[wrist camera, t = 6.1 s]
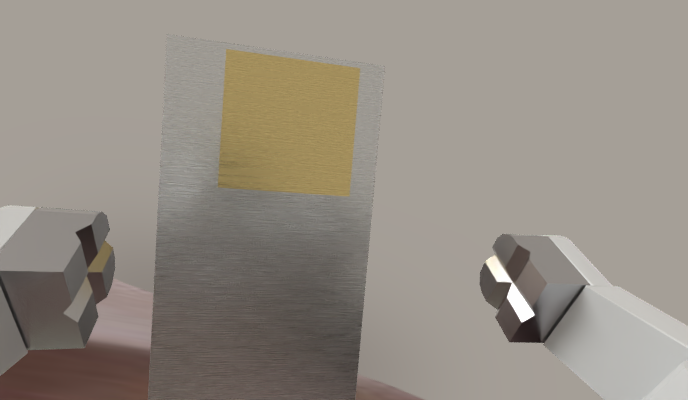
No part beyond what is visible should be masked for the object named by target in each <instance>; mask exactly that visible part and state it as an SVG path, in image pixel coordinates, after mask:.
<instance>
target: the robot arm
mask: <svg viewBox="0 0 688 400" xmlns="http://www.w3.org/2000/svg"><path fill="white" fill-rule="evenodd" d="M109 230H110V228H109V224H108V219H107V215H105V214H104V213H103V212H98V211H85V210H70V209H58V208H43V207H41V208H38V207H26V206H9V205H8V206H5V207H2V208H0V375H2V374H3V373H4V372H5V371H7V370H8V369H9V368H10V367H11V366H13V365H14V364H15V363H16V362H17V361H19V360H20V359H21V358H22V357H23V356H25V355H26V354H27V353H28V352H27V350H43V349H69V348H85V346H86V343H87V341H88V339H89V337H90V334H91V332H92V330H93V327H94V325H95V323H96V321H97V318H98V313H97V308H96V304H97V303H99V302H100V301H102V300H103V299H105V298H106V297H107V295H108V293H109V290H110V288H111V285H112V281H113V276H114V271H115V257H114V251H113V248H112V247H111V246H110V245H109V244H108V243H107V242H106V241H105V238H106V236H107V234H108V232H109ZM493 251H494V254H495V255H493V256H492V257H491V258H490V259H488V260H487V261H485V263H484V265H483V267H482V270H481V272H480V287H481V291H482V294H483V296H484V298H485V299H486V301H487V302H488V303H489V304H491V305H492V306H493V307H495V308H496V309H497V312H496V319H497V321H498V323H499V325H500V326H501V328H502V330H503V332H504V334H505V335H506V337H507V339H508V341H509V342H526V343H530V342H531V343H544V344H543V345H544V346H545V347H547V348H548V349H549V350H550V351H551V352H552V353H553V354H554V355H555V356H556V357H557V358H559V359H560V360H561V361H562V362H563V363H564V364H565V365H566V366H567V367H568V368H570V369H571V370H572V371H573V372H574V373H575V374H576V375H577V376H578V377H580V378H581V379H582V380H583V381H584V382H585V383H586V384H587V385H588V386H590V387H591V388H592V389H593V390H594V391H595V392H596V393H597V394H598V395H600V396H601V397H602V398H603V399H604V400H688V326H687V325H685V324H683V323H682V322H680V321H678V320H676V319H675V318H673V317H671V316H669V315H668V314H666V313H664V312H662V311H661V310H659V309H657V308H655V307H654V306H652V305H650V304H648V303H647V302H645V301H643V300H642V299H640V298H638V297H636V296H634V295H633V294H631V293H629V292H628V291H626V290H624V289H622V288H620V287H619V286H612V285H611V284H610V283H609V282H608V280H606V278H605V277H604V276H603V275H602V274H601V273H600V272H599V271H598V270H597V269H596V268H595V266H594V265H593V264H592V263H591V262H590V261H589V260H588V259H587V258H586V257H585V256H584V255H583V253H582V252H581V251H580V250H579V249H578V248H577V247H576V246H575V245H574V244H573V243H572V242H571V241H570V239H568V238H566V237H564V236H558V235H557V236H556V235H542V236H537V235H516V234H502V235H501V236H500V237H498V238H497V240H496V241H495V243H494V245H493Z"/></svg>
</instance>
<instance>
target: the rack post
mask: <svg viewBox="0 0 688 400" xmlns="http://www.w3.org/2000/svg"><path fill="white" fill-rule="evenodd" d="M226 49H231V50H238V51H245V52H252V53H258V54H265V55H272V56H279V57H286V58H293V59H300V60H307V61H314V62H321V63H328V64H335V65H342V66H349V67H356V68H360V78H359V90H358V102H357V113H356V125H355V137H354V149H353V160H352V172H351V184H350V196H349V197H347V196H333V195H318V194H304V193H290V192H276V191H261V190H247V189H233V188H219V187H218V174H219V158H220V142H221V126H222V109H223V93H224V77H225V61H226ZM384 71H385V66H381V65H373V64H367V63H360V62H353V61H346V60H340V59H333V58H326V57H320V56H313V55H306V54H298V53H292V52H285V51H279V50H271V49H265V48H258V47H251V46H245V45H238V44H231V43H224V42H217V41H211V40H204V39H196V38H190V37H184V36H177V35H170V34H167V44H166V63H165V84H164V102H163V103H164V104H163V122H162V141H161V160H160V180H159V198H158V199H159V200H158V218H157V238H156V257H155V276H154V295H153V314H152V333H151V353H150V372H149V391H148V400H355V397H356V385H357V374H358V363H359V351H360V340H361V328H362V318H363V307H364V296H365V284H366V273H367V262H368V251H369V239H370V228H371V217H372V206H373V194H374V183H375V172H376V161H377V149H378V139H379V127H380V116H381V105H382V94H383V83H384Z"/></svg>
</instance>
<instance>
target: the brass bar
mask: <svg viewBox="0 0 688 400" xmlns="http://www.w3.org/2000/svg"><path fill="white" fill-rule="evenodd" d="M359 78H360V68H356V67H349V66H342V65H335V64H328V63H321V62H314V61H307V60H300V59H293V58H286V57H279V56H272V55H265V54H258V53H252V52H245V51H238V50H231V49H226V61H225V77H224V93H223V109H222V126H221V142H220V158H219V174H218V187H219V188H233V189H247V190H261V191H276V192H290V193H304V194H318V195H333V196H347V197H349V196H350V184H351V172H352V160H353V149H354V137H355V125H356V113H357V102H358V90H359Z"/></svg>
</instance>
